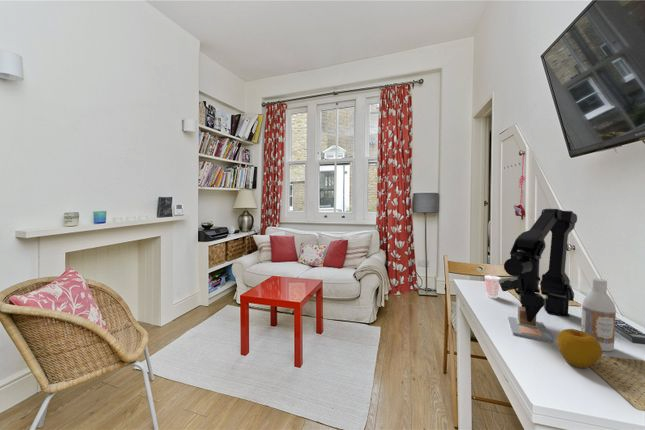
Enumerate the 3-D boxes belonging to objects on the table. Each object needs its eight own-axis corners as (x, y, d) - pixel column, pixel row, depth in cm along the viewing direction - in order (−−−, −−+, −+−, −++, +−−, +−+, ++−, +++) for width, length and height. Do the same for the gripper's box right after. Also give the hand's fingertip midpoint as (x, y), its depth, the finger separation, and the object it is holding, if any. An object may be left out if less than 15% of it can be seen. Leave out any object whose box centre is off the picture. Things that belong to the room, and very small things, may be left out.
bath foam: (589, 350, 79) (592, 282, 78) (575, 338, 85) (578, 275, 84) (620, 354, 77) (623, 284, 76) (603, 342, 83) (606, 277, 82)
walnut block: (533, 321, 95) (533, 308, 95) (535, 326, 91) (536, 313, 91) (517, 318, 97) (518, 306, 97) (519, 323, 94) (519, 310, 93)
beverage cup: (483, 297, 123) (484, 266, 122) (484, 293, 128) (484, 264, 127) (499, 299, 119) (500, 268, 119) (499, 295, 125) (500, 265, 124)
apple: (609, 372, 68) (611, 337, 68) (583, 376, 67) (585, 341, 66) (572, 353, 77) (573, 323, 76) (548, 357, 75) (549, 325, 75)
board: (542, 324, 95) (542, 321, 95) (552, 342, 83) (552, 339, 83) (508, 318, 100) (508, 315, 100) (512, 334, 88) (513, 331, 88)
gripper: (498, 264, 106) (497, 303, 106) (503, 275, 89) (501, 321, 90) (534, 267, 100) (532, 309, 101) (546, 280, 84) (544, 329, 85)
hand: (526, 316), depth 94 cm, fingers open, 9 cm apart
